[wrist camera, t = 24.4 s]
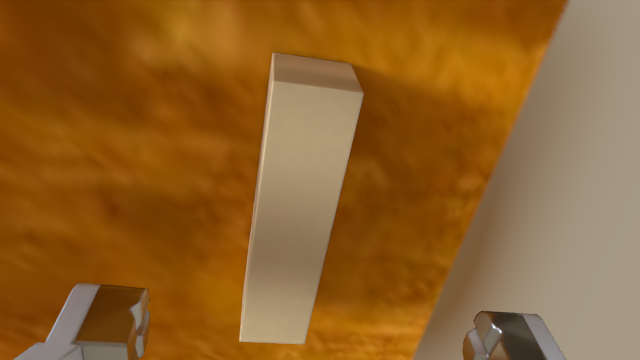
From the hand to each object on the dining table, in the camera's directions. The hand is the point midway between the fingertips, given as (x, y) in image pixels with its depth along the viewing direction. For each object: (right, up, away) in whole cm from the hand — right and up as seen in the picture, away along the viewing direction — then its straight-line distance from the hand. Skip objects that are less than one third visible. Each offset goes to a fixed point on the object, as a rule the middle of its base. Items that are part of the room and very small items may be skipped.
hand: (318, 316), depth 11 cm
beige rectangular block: (-1, +3, +5) cm, 6 cm away
